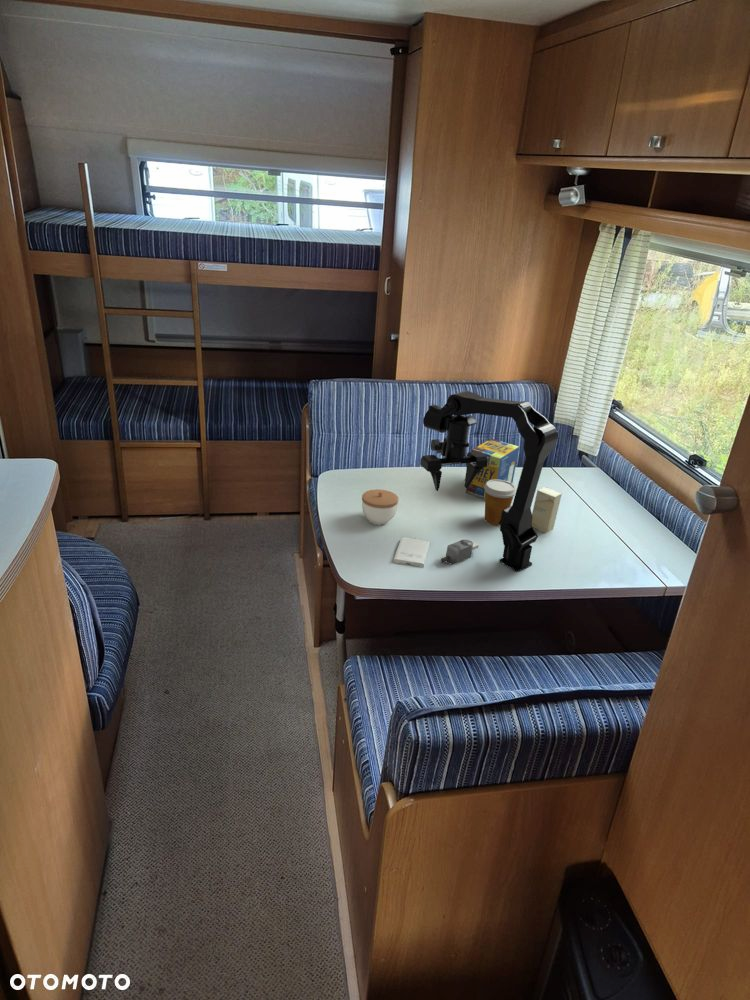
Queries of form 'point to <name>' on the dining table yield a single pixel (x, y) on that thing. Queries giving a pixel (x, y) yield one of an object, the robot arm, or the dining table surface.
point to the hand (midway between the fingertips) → (451, 488)
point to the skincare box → (545, 509)
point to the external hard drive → (412, 551)
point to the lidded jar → (379, 506)
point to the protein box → (494, 465)
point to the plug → (459, 551)
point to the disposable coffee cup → (497, 499)
